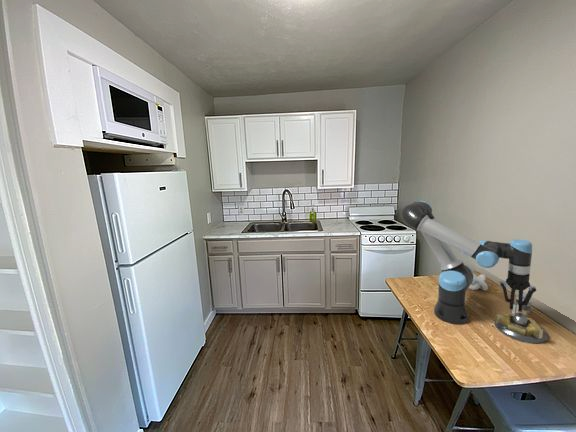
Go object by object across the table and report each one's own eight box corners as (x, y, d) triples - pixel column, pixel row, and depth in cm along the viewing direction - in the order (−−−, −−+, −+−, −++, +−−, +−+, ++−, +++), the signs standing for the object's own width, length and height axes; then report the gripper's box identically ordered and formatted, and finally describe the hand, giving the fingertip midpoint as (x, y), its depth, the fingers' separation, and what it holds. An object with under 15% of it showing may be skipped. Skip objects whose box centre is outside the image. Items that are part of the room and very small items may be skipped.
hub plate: (499, 337, 111) (500, 334, 110) (490, 315, 126) (490, 312, 126) (554, 348, 102) (555, 344, 102) (537, 322, 117) (537, 319, 117)
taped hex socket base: (540, 341, 104) (542, 332, 103) (494, 324, 117) (494, 316, 116) (547, 326, 112) (548, 317, 111) (503, 311, 125) (503, 303, 124)
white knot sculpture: (467, 292, 148) (467, 278, 147) (461, 282, 159) (461, 270, 157) (489, 293, 144) (490, 280, 142) (481, 284, 155) (482, 271, 153)
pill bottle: (513, 307, 130) (515, 290, 128) (527, 309, 128) (529, 292, 126) (517, 313, 125) (518, 296, 123) (531, 315, 123) (534, 298, 121)
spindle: (514, 331, 113) (515, 317, 112) (511, 325, 117) (512, 312, 116) (527, 334, 111) (529, 319, 109) (523, 328, 115) (525, 314, 113)
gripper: (537, 271, 113) (532, 315, 118) (499, 266, 122) (496, 307, 127) (540, 277, 108) (535, 324, 113) (500, 272, 116) (497, 315, 121)
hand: (514, 315), depth 120 cm, fingers closed, pressing on taped hex socket base
